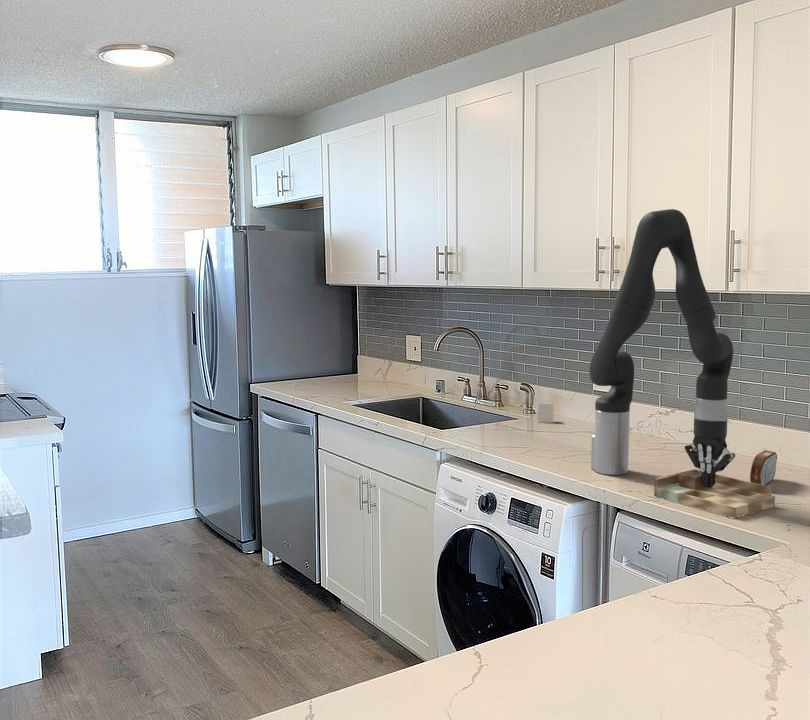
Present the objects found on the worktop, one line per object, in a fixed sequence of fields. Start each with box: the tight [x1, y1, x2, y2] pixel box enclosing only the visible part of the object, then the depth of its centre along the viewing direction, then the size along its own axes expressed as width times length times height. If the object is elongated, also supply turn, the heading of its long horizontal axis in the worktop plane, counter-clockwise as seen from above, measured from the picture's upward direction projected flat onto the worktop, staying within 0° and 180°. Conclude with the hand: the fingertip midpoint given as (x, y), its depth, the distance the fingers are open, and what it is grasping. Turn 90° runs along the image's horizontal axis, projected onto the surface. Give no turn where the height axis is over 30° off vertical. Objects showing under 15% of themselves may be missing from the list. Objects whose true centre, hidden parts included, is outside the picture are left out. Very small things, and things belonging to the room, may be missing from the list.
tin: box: [749, 449, 778, 486], centre depth 212 cm, size 15×3×8 cm, turn 141°
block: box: [679, 470, 703, 490], centre depth 201 cm, size 4×4×3 cm
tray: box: [653, 468, 776, 519], centre depth 196 cm, size 22×16×4 cm
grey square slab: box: [536, 402, 559, 424], centre depth 297 cm, size 3×7×7 cm, turn 72°
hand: (708, 487), depth 197 cm, fingers closed
